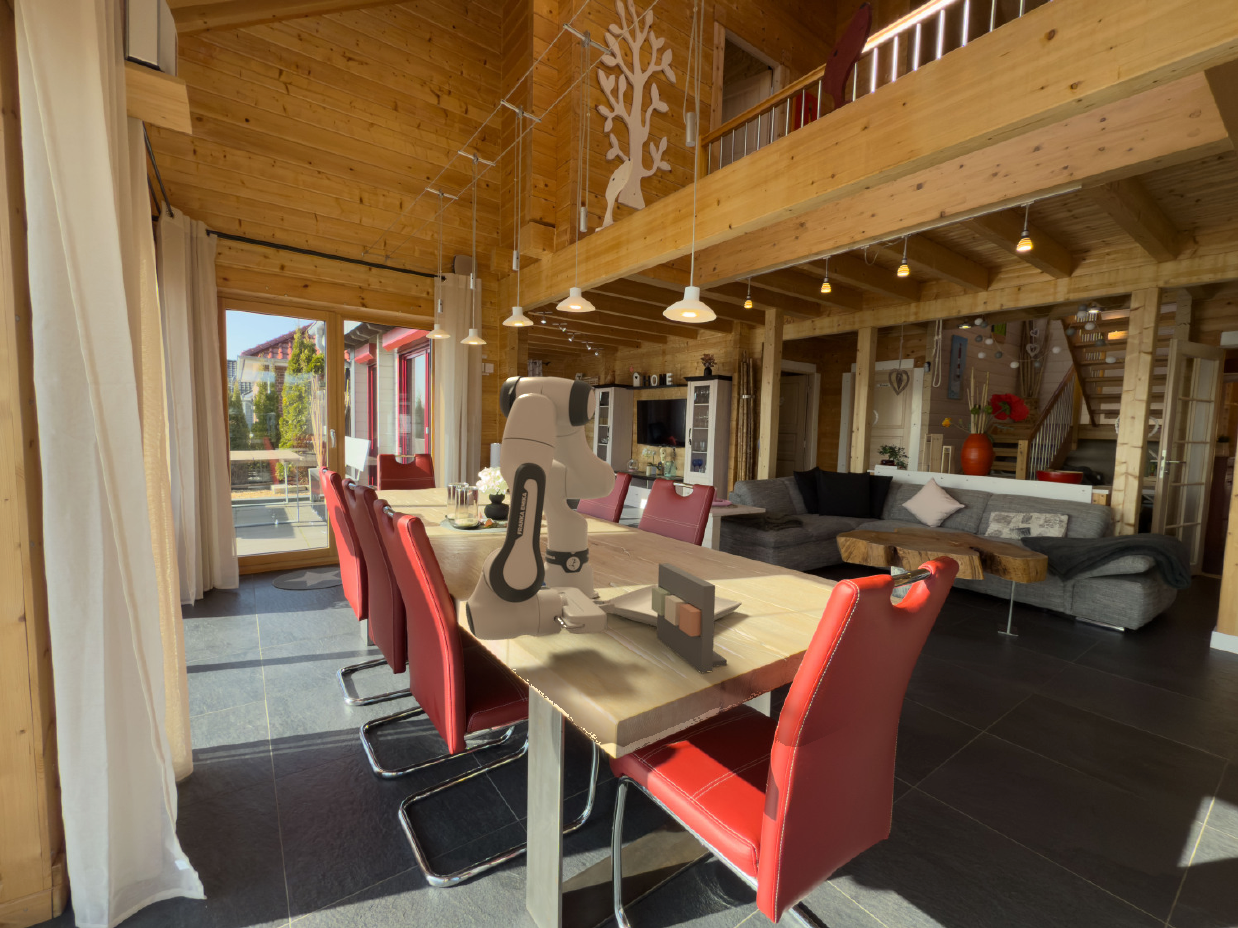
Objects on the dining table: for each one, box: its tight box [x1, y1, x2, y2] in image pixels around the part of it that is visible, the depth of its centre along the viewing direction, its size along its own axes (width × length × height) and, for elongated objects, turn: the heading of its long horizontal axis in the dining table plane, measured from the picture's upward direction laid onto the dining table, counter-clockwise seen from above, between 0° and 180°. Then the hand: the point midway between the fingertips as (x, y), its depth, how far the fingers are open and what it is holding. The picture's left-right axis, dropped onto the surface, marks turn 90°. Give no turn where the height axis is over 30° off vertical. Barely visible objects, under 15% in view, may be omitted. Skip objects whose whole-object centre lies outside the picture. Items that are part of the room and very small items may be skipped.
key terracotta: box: [679, 604, 701, 636], centre depth 110 cm, size 5×4×5 cm
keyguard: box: [656, 562, 728, 674], centre depth 118 cm, size 20×7×17 cm, turn 22°
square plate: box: [608, 583, 742, 627], centre depth 143 cm, size 27×27×4 cm
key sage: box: [652, 587, 670, 616], centre depth 122 cm, size 5×4×5 cm
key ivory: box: [665, 595, 685, 626], centre depth 116 cm, size 5×4×5 cm
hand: (612, 605), depth 118 cm, fingers closed
